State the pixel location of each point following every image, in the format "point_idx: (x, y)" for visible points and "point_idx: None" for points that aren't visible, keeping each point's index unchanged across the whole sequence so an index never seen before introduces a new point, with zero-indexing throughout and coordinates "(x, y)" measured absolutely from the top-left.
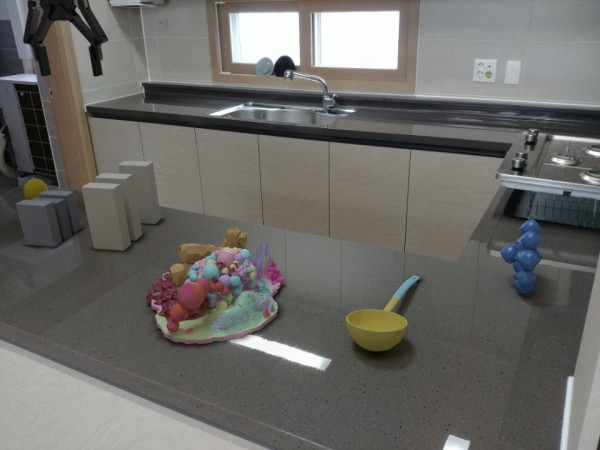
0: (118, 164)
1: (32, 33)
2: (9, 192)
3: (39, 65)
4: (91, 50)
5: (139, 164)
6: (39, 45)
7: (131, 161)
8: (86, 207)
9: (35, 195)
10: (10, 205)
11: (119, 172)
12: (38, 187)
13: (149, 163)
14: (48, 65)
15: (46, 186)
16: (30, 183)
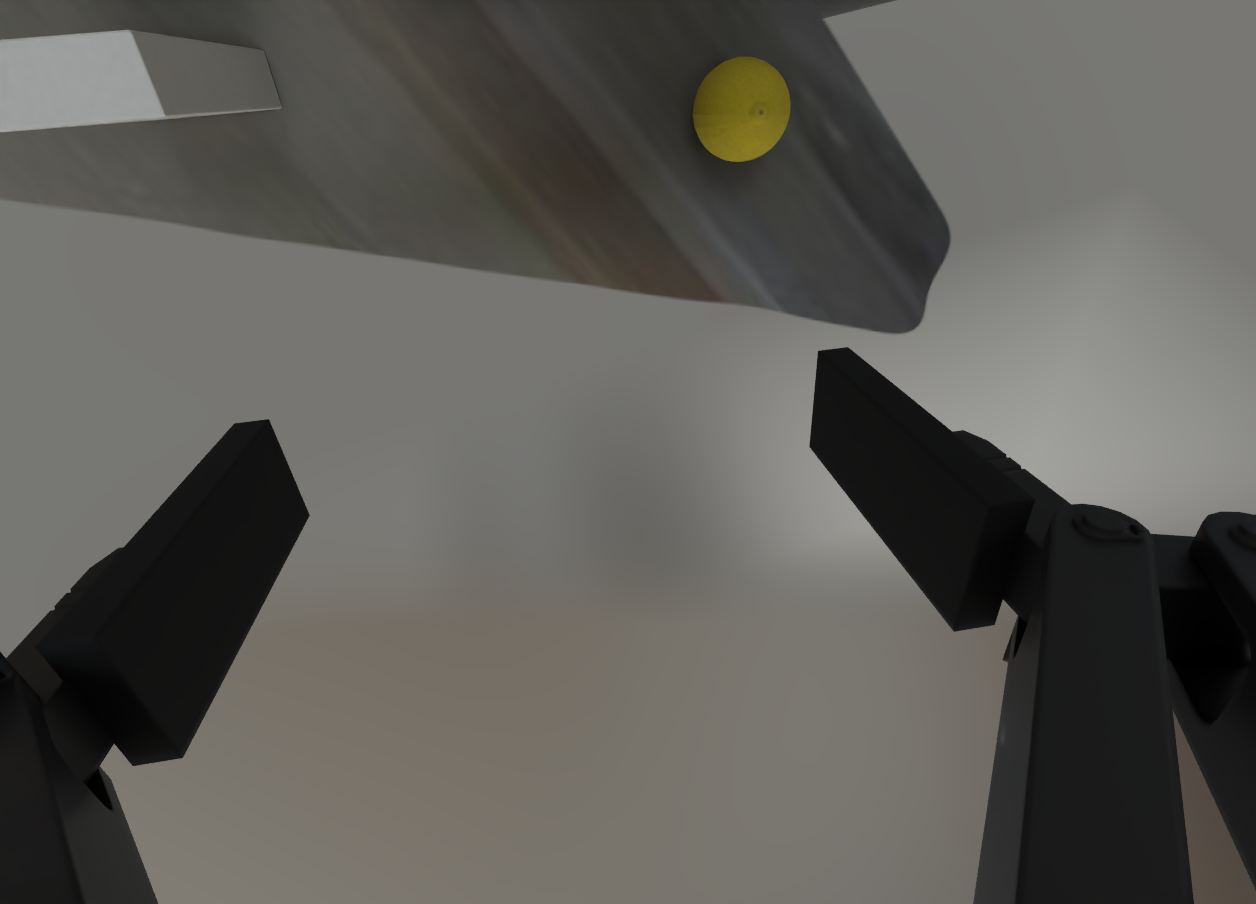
0: (129, 33)
1: (1238, 703)
2: (936, 230)
3: (894, 390)
4: (81, 601)
5: (6, 62)
6: (1017, 585)
7: (111, 110)
8: None
9: (716, 68)
10: (855, 107)
11: (152, 33)
12: (716, 90)
13: None
14: (847, 478)
15: (709, 139)
16: (752, 80)
